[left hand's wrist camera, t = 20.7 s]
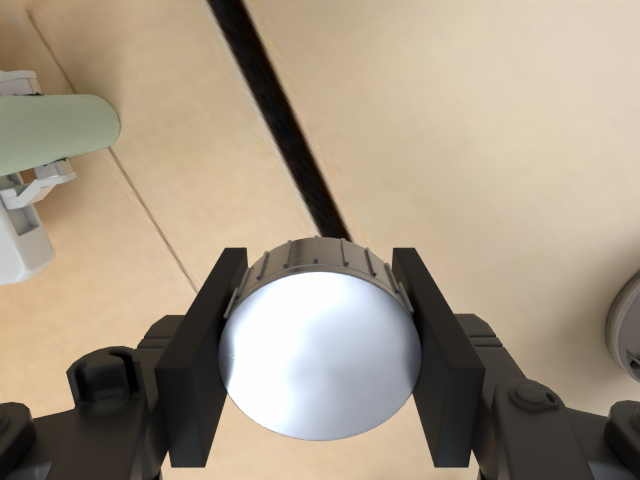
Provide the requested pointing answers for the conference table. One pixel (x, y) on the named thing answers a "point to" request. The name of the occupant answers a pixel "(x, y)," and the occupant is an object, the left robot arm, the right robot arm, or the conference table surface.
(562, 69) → the conference table surface
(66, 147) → the green bottle
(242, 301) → the lid
